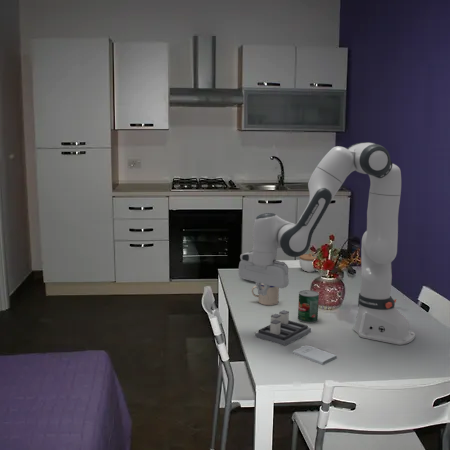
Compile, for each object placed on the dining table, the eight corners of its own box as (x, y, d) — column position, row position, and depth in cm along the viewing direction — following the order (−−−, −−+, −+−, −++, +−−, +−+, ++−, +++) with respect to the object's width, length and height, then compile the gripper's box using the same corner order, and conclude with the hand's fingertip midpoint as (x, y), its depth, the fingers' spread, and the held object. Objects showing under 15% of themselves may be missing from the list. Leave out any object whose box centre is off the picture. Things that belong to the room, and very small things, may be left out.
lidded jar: (301, 273, 295) (302, 255, 294) (296, 268, 306) (297, 251, 304) (321, 273, 296) (322, 255, 294) (316, 268, 307) (317, 251, 305)
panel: (310, 331, 214) (311, 325, 214) (284, 346, 201) (284, 339, 200) (281, 323, 222) (282, 317, 222) (254, 336, 209) (255, 330, 208)
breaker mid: (280, 327, 214) (281, 315, 213) (275, 329, 212) (276, 317, 211) (275, 325, 215) (275, 313, 214) (270, 327, 213) (271, 315, 212)
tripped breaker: (280, 333, 207) (280, 321, 207) (275, 336, 205) (276, 323, 204) (274, 332, 209) (275, 319, 208) (270, 334, 207) (270, 321, 206)
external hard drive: (322, 366, 186) (292, 354, 195) (336, 359, 192) (307, 348, 200) (322, 361, 186) (292, 350, 195) (337, 355, 192) (307, 344, 200)
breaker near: (288, 323, 218) (288, 311, 217) (284, 325, 216) (284, 313, 215) (283, 321, 220) (283, 310, 219) (278, 324, 217) (279, 312, 216)
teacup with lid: (277, 299, 252) (278, 273, 250) (279, 306, 243) (280, 279, 241) (250, 298, 252) (251, 273, 250) (251, 305, 243) (252, 279, 241)
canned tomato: (320, 318, 229) (322, 292, 227) (312, 324, 222) (313, 297, 220) (302, 314, 233) (304, 288, 231) (294, 320, 227) (295, 293, 225)
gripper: (293, 261, 202) (291, 298, 204) (246, 251, 214) (245, 286, 217) (283, 264, 197) (281, 303, 199) (236, 254, 209) (235, 290, 212)
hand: (262, 294), depth 208 cm, fingers closed
